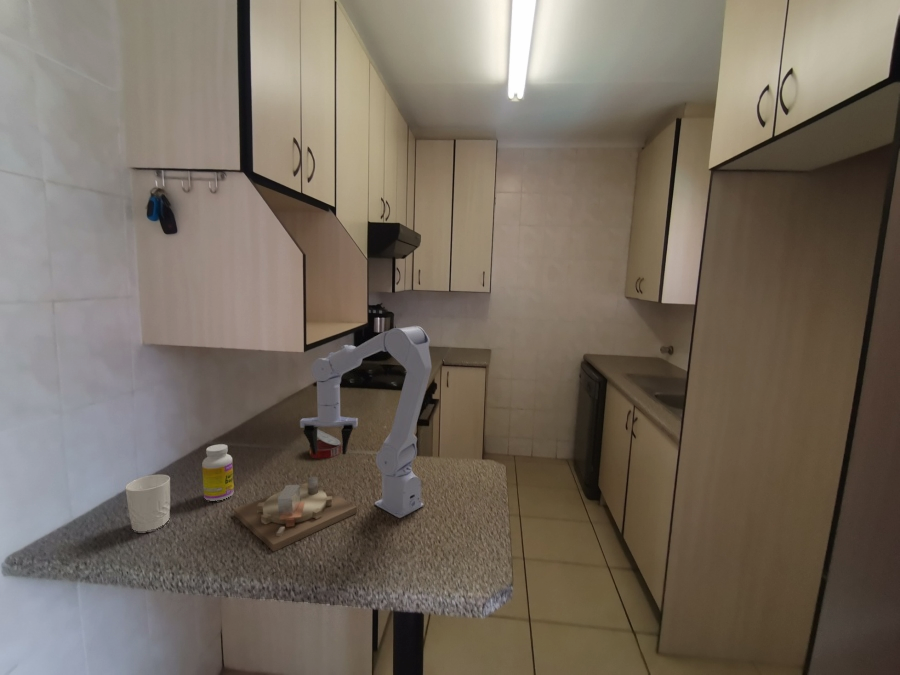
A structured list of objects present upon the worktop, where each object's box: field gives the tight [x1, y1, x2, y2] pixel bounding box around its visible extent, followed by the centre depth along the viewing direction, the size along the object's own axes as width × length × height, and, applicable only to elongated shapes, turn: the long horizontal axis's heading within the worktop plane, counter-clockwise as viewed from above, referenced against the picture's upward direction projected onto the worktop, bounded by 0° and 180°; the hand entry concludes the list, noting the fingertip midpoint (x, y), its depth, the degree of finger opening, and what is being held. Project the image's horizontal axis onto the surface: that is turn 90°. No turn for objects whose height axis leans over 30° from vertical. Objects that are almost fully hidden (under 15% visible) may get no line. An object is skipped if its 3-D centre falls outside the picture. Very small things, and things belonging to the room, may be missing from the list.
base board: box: [233, 481, 358, 552], centre depth 97 cm, size 20×20×2 cm
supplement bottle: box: [201, 443, 235, 502], centre depth 104 cm, size 7×7×13 cm
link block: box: [278, 484, 301, 515], centre depth 92 cm, size 6×3×4 cm, turn 3°
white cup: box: [124, 474, 171, 531], centre depth 91 cm, size 8×8×10 cm
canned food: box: [308, 428, 342, 460], centre depth 134 cm, size 11×10×10 cm
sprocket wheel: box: [257, 476, 332, 527], centre depth 96 cm, size 16×16×5 cm
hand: (329, 453), depth 109 cm, fingers open, 7 cm apart
